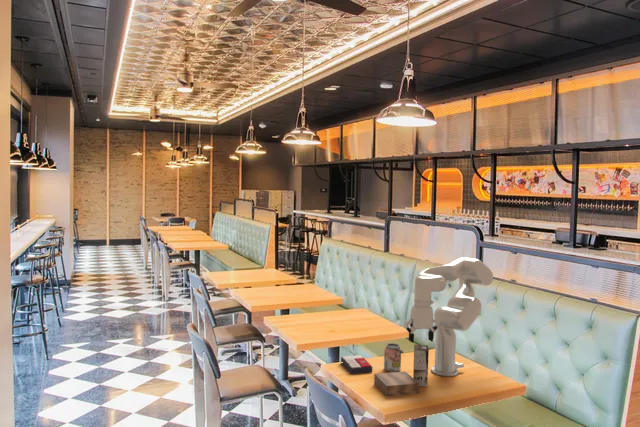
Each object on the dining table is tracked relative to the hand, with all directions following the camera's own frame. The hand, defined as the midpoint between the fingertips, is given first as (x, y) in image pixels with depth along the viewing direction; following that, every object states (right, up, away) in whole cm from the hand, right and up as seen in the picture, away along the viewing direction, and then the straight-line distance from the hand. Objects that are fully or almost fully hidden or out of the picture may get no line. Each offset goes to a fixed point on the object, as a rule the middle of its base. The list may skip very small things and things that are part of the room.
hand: (421, 341), depth 219 cm
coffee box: (0, -19, +1) cm, 19 cm away
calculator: (-28, -18, +18) cm, 38 cm away
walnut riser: (-12, -20, -7) cm, 24 cm away
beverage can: (-10, -18, +17) cm, 27 cm away
